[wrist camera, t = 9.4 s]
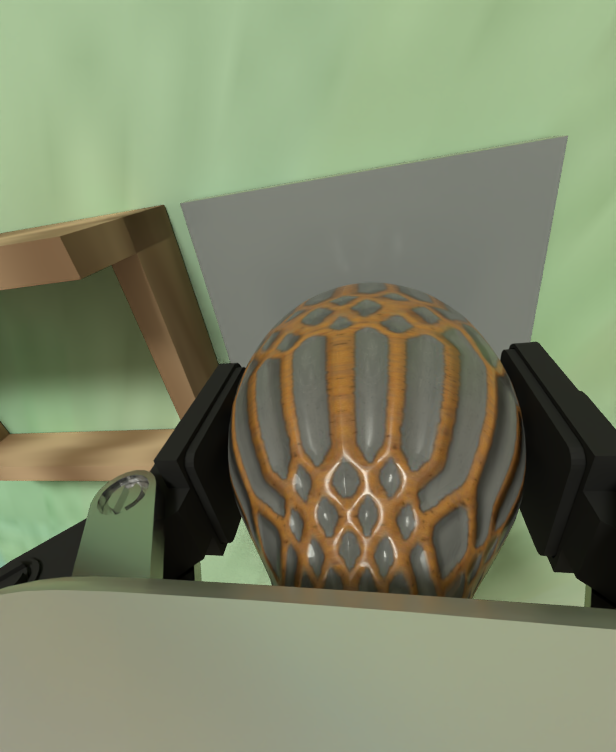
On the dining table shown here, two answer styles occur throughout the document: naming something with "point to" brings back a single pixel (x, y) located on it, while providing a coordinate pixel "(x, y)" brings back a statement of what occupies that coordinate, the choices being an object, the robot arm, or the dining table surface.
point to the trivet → (386, 239)
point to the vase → (377, 446)
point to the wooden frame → (152, 312)
